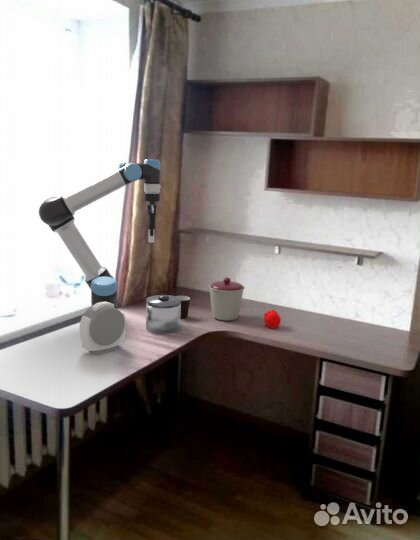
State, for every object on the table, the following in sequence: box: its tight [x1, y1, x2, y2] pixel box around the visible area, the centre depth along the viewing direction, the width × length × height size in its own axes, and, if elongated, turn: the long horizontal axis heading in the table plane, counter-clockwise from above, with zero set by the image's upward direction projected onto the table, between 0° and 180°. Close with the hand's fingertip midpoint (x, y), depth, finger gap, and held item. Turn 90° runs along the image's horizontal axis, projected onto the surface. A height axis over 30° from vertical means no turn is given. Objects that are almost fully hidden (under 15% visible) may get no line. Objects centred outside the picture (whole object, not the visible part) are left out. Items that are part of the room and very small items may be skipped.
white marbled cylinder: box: [145, 302, 181, 335], centre depth 236 cm, size 16×18×12 cm
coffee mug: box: [176, 295, 191, 320], centre depth 255 cm, size 12×9×10 cm
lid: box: [145, 294, 181, 308], centre depth 234 cm, size 16×16×3 cm
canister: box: [208, 277, 246, 322], centre depth 254 cm, size 18×18×21 cm
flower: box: [263, 309, 282, 329], centre depth 244 cm, size 8×8×8 cm
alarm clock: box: [79, 301, 127, 356], centre depth 205 cm, size 18×8×20 cm, turn 133°
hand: (151, 242), depth 242 cm, fingers closed
